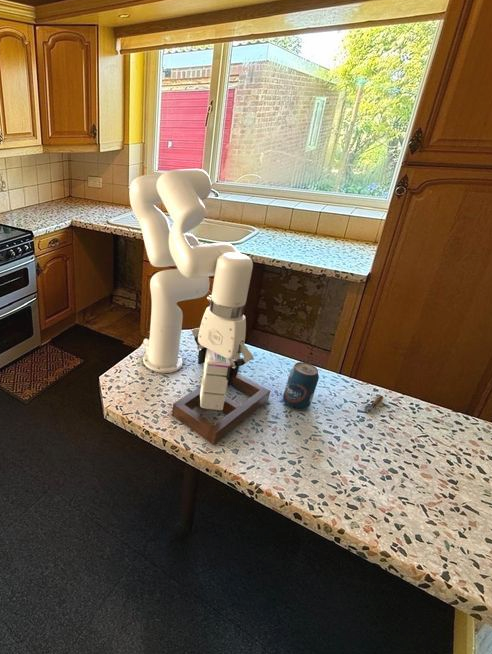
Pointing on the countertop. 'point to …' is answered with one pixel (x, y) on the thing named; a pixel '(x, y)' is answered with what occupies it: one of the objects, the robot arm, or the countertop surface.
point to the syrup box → (214, 381)
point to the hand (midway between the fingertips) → (216, 369)
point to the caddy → (230, 408)
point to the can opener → (374, 403)
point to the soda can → (301, 386)
